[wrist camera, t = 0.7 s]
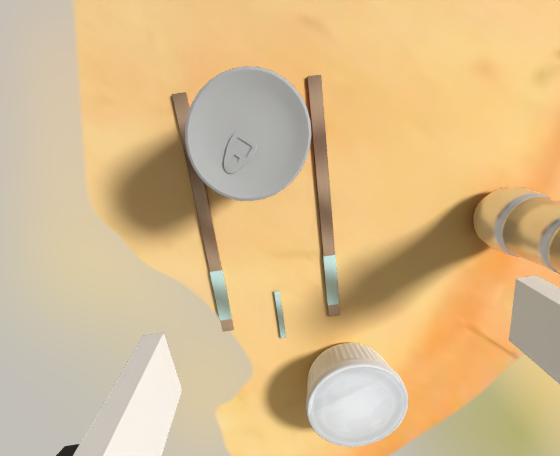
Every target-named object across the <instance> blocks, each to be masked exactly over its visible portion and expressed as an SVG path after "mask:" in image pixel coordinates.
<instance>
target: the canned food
mask: <svg viewBox="0 0 560 456" xmlns="http://www.w3.org/2000/svg"><path fill="white" fill-rule="evenodd" d="M185 143H186V148H187V153H188V156H189V159H190V161H191V164H192V166H193V168H194V170H195V171H196V173H197V174H198V176H199V177H200V178H201V179H202V180H203V182H204V183H205V184H206V185H207V186H208V187H210V188H211V189H213V190H214V191H215V192H217V193H219V194H221V195H223V196H225V197H228V198H231V199H235V200H240V201H254V200H260V199H264V198H267V197H270V196H272V195H275V194H276V193H278V192H280V191H281V190H283V189H284V188H285V187H287V186H288V185H289V184H290V183H291V182H292V181H293V180H294V179H295V177H296V176H297V175H298V174H299V172H300V171H301V169H302V167H303V165H304V163H305V161H306V159H307V156H308V152H309V149H310V143H311V121H310V117H309V114H308V110H307V107H306V105H305V103H304V101H303V99H302V97H301V95H300V94H299V93H298V91H297V90H296V89H295V87H294V86H293V85H292V84H291V83H289V82H288V81H287V80H286V79H285V78H284V77H282V76H280V75H278V74H277V73H275V72H273V71H271V70H267V69H264V68H260V67H249V66H245V67H238V68H233V69H230V70H228V71H225V72H223V73H220V74H219V75H217V76H216V77H214V78H213V79H211V80H210V81H209V82H208V83H207V84H206V85H205V86H204V87H203V88H202V89H201V90H200V91H199V93H198V94H197V96H196V97H195V99H194V101H193V102H192V105H191V107H190V110H189V112H188V115H187V121H186V126H185Z"/></svg>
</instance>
